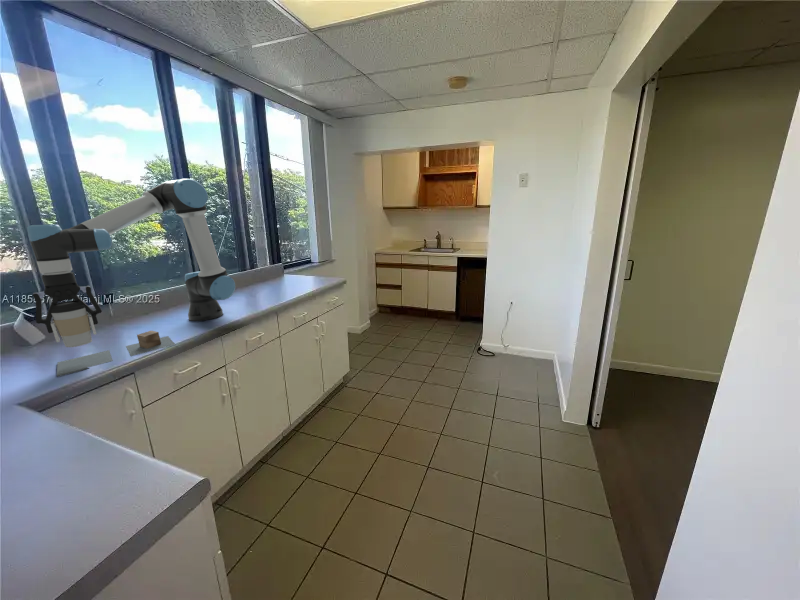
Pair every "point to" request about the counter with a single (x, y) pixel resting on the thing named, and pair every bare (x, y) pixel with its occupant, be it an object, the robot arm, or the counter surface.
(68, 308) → the coffee cup
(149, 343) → the walnut block
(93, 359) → the pad
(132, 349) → the pad
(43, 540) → the counter surface
